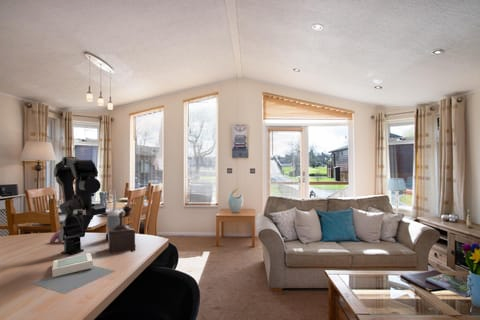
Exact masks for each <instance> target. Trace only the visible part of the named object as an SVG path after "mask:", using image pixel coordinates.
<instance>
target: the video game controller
mask: <svg viewBox="0 0 480 320" xmlns="http://www.w3.org/2000/svg"><path fill="white" fill-rule="evenodd" d="M60 231H61V230H56V232H54V234H53V235H52V237H51V238H50V240H49V243H50V244H54V243H55V242H56V241H57V242H60V243H62V242H63V241H62V240H60V236H59V234H60Z"/></svg>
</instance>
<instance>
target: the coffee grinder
mask: <svg viewBox="0 0 480 320" xmlns="http://www.w3.org/2000/svg"><path fill="white" fill-rule="evenodd" d="M132 210H133V208H132V206H131V205H125V206H124V207H123V211H124V215H123V213H122V212H121V213H119V218H120V224H119V225H117V226H115V227H114V228H108V241H107V243H108V244H107V245H108V246H107V250H108V252H109V254H114V253H121V252H126V251H129V252H135V251H136V230H135V228H134V227H133V225H132V224H130V223H128V224H127V223H123V219H124V218H128V217H129V216H131V214H132V213H131V211H132Z"/></svg>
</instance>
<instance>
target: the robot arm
mask: <svg viewBox="0 0 480 320" xmlns="http://www.w3.org/2000/svg"><path fill="white" fill-rule="evenodd" d="M98 174H99V171H98V168H97V166H96V164H95V162H94V161H93V160H92V159H81V158H80V159H79V158H77V157H76V156H64V157H62V158H61V160H60V161H59V162H57V163H56V164H55V166H54V170H53V177H54V178H55V181H56V183H58V185H59V186H60V187H61V192H62V194H61V195H62V200H63V201H62V203H61V204H59V205H58V207H59V209H60V211H61V214H65V217H64V220H63V221H62V225H61V228H60V230H59V231H60V234H59V236H60V240H62V242H63V243H64V244H63V247H64V250H63V251H61V252H60V254H62V255H67V256H72V255H74V254H78V253H81V252H83V251H85V249H83V248H82V244H81V242H82V241H81V238H85V235H86V231H87V229H88V227H89V225H90V223H91V221H92V220H93V218H94V216H98V215H103V214H106V213H107V207H106V206H104V205H95V203H93V197H94V196H95V194H96V193H97V192H99V191H100V189H101V186H102V185H101V181H100V180H98V179H97V177H99V175H98Z"/></svg>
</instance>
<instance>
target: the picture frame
mask: <svg viewBox="0 0 480 320" xmlns="http://www.w3.org/2000/svg"><path fill="white" fill-rule="evenodd" d="M93 266H94V261H93V257H92V253H90V252H89V253H83V254H80V255H79V254H78V255H74V256H70V257H63V258H60V259H56V260H53V264H52V268H51V270H52V272H51V273H52V275H53V277H56V276H60V275H64V274H68V273H72V272H77V271H81V270H85V269H89V268H93Z"/></svg>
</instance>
